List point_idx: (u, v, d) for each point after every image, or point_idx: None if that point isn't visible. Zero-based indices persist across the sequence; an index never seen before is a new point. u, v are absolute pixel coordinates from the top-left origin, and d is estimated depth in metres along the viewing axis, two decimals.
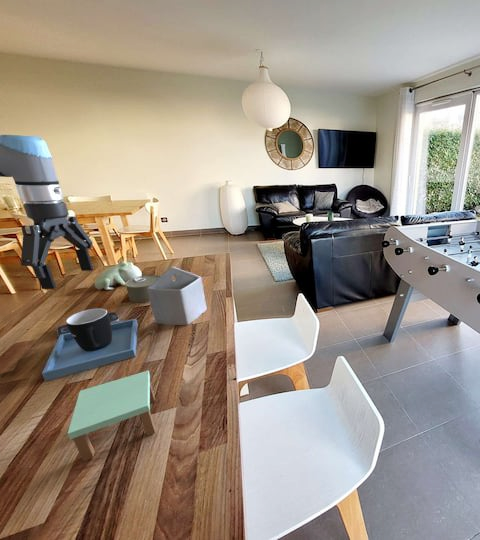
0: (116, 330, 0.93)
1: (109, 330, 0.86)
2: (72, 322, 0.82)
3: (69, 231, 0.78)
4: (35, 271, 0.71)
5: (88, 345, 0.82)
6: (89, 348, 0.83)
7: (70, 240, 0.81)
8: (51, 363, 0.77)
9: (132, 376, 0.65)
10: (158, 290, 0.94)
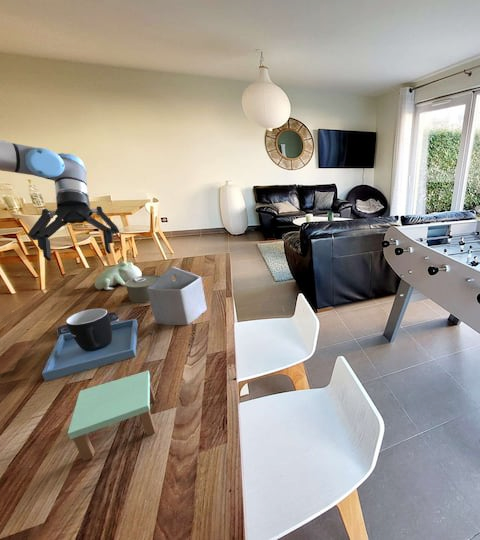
0: (116, 330, 0.93)
1: (109, 330, 0.86)
2: (72, 322, 0.82)
3: None
4: (112, 236, 0.92)
5: (88, 345, 0.82)
6: (89, 348, 0.83)
7: (55, 227, 0.86)
8: (51, 363, 0.77)
9: (132, 376, 0.65)
10: (158, 290, 0.94)
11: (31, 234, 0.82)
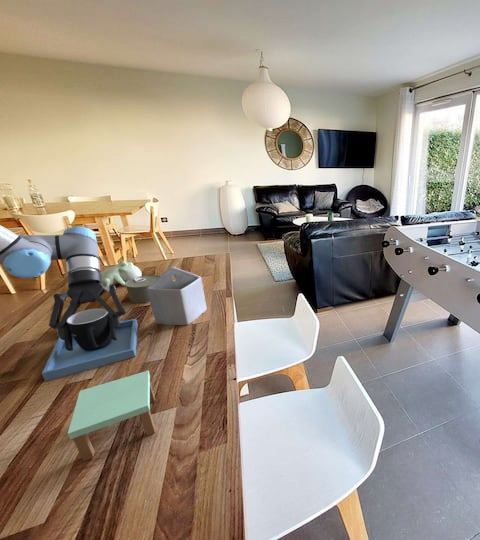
0: (116, 330, 0.93)
1: (109, 330, 0.86)
2: (72, 322, 0.82)
3: None
4: (118, 320, 0.86)
5: (88, 345, 0.82)
6: (89, 348, 0.83)
7: (72, 312, 0.83)
8: (51, 363, 0.77)
9: (132, 376, 0.65)
10: (158, 290, 0.94)
11: (52, 324, 0.79)
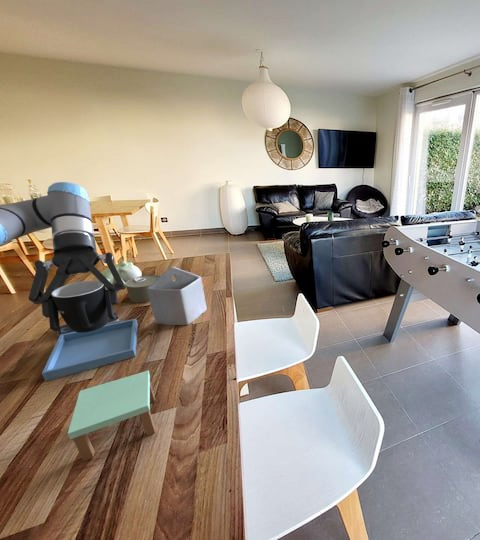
0: (116, 330, 0.93)
1: (106, 307, 0.69)
2: (59, 296, 0.66)
3: None
4: (116, 295, 0.70)
5: (79, 324, 0.66)
6: (81, 328, 0.66)
7: (59, 284, 0.66)
8: (51, 363, 0.77)
9: (132, 376, 0.65)
10: (158, 290, 0.94)
11: (33, 298, 0.62)
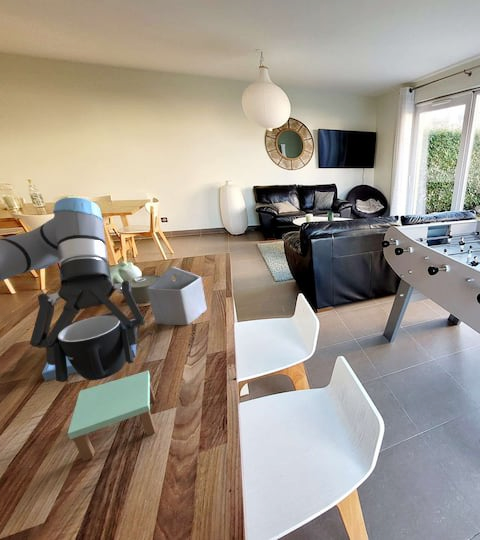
0: None
1: (123, 348, 0.58)
2: (67, 337, 0.54)
3: None
4: (135, 333, 0.58)
5: (91, 372, 0.54)
6: (93, 376, 0.55)
7: (67, 322, 0.55)
8: None
9: (132, 376, 0.65)
10: (158, 290, 0.94)
11: (36, 342, 0.51)
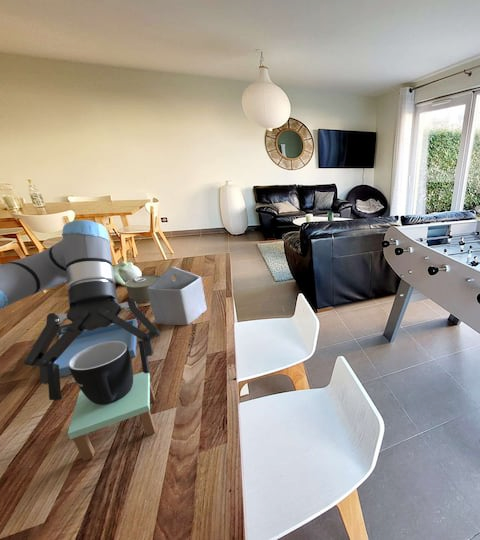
0: (116, 330, 0.93)
1: (130, 372, 0.60)
2: (76, 363, 0.56)
3: None
4: (151, 345, 0.61)
5: (101, 397, 0.56)
6: (102, 401, 0.57)
7: (67, 342, 0.56)
8: None
9: None
10: (158, 290, 0.94)
11: (30, 362, 0.52)
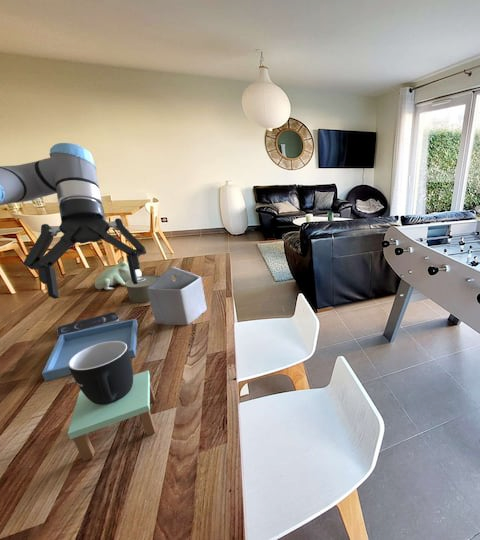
0: (116, 330, 0.93)
1: (130, 372, 0.60)
2: (76, 363, 0.56)
3: None
4: (138, 260, 0.68)
5: (101, 397, 0.56)
6: (102, 401, 0.57)
7: (61, 251, 0.62)
8: (51, 363, 0.77)
9: None
10: (158, 290, 0.94)
11: (28, 263, 0.59)
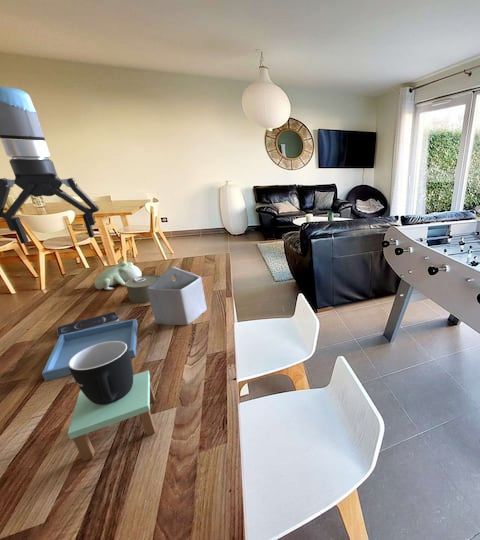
0: (116, 330, 0.93)
1: (130, 372, 0.60)
2: (76, 363, 0.56)
3: None
4: (93, 218, 0.83)
5: (101, 397, 0.56)
6: (102, 401, 0.57)
7: (21, 204, 0.74)
8: (51, 363, 0.77)
9: None
10: (158, 290, 0.94)
11: None
